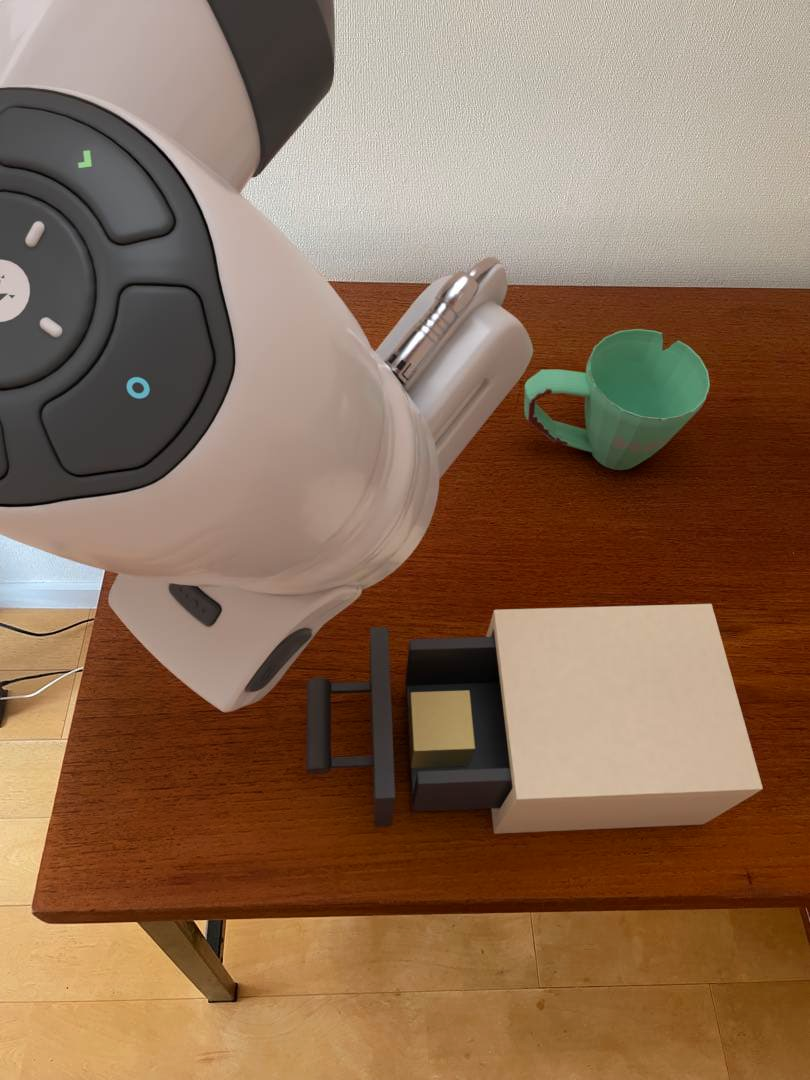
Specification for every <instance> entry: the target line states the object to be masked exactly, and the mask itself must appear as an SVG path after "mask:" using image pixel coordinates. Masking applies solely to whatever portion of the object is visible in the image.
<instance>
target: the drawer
mask: <svg viewBox="0 0 810 1080" xmlns="http://www.w3.org/2000/svg"><path fill="white" fill-rule="evenodd" d="M406 661H407V662H406V669H405V670H406V671H405V679H404V683H405V685H404V686H405V701H406V702H405V703H406V718H407V720H406V721H407V740H408V757H409V775H410V777H409V779H410V795H411V811H412V812H435V811H436V812H439V811H460V810H461V811H462V810H485V809H488V810H489V809H491V808H501V806H502V804H503V803H504V801H505V800H506V798H507V796H508V795H509V793H510V791H511V790H512V788H513V787H512V779H511V770H510V762H509V753H508V745H507V736H506V728H505V719H504V711H503V702H502V694H501V686H500V677H499V669H498V660H497V652H496V643H495V637H486V636H475V637H474V636H473V637H472V636H471V637H469V636H468V637H442V638H441V637H439V638H435V637H434V638H411V639H409V643H408V652H407V660H406ZM391 685H392V684H391V661H390V639H389V627H388V626H377V627H374V626H373V627H369V681H357V682H356V681H355V682H353V681H351V682H331V680H330V679H328V678H325V677H313V678H310V679H308V680H307V682H306V722H305V723H306V725H305V726H306V727H305V729H306V730H305V732H306V733H305V772H306V774H309V775H318V776H319V775H326V774H329V773H331V771H332V770H335V769H336V770H337V769H358V768H359V769H360V768H364V769H365V768H372V799H373V800H372V802H373V805H372V806H373V827H374V828H381V827H382V828H383V827H385V828H386V827H392V826H393V819H394V812H395V805H396V804H395V803H396V779H395V778H396V777H395V752H394V734H393V733H394V732H393V729H394V728H393V708H392V707H393V706H392V687H391ZM465 690H469V691H470V699H471V710H472V720H473V730H474V741H475V750H474V753H473V755H472V758H471V760H470V763H469V765H468V766H448V767H423V768H411V761H410V742H409V724H408V708H409V700H410V693H411V692H435V691H465ZM342 694H344V695H346V694H369V695H370V696H369V698H370V731H371V732H370V733H371V734H370V735H371V736H370V737H371V755H353V756H332V695H342Z"/></svg>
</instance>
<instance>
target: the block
mask: <svg viewBox="0 0 810 1080" xmlns="http://www.w3.org/2000/svg"><path fill="white" fill-rule="evenodd" d="M408 724H409V741H408V743H409V742H410V760H409V762H410V761H411V768H423V767H448V766H468V765H469V763H470V760H471V758H472V755H473V753H474V750H475V741H474V730H473V720H472V710H471V699H470V691H469V690H465V691H435V692H411V693H410V700H409V708H408V722H407V725H408Z"/></svg>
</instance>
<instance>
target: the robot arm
mask: <svg viewBox="0 0 810 1080" xmlns="http://www.w3.org/2000/svg"><path fill="white" fill-rule="evenodd" d="M334 1H335V0H0V535H1V536H4V537H5V538H7V539H11V540H13V541H15V542H18V543H21V544H23V545H26V546H28V547H32V548H34V549H37V550H40V551H43V552H44V553H45V552H46V553H48V554H51V555H53V556H56V557H59V558H62V559H65V560H68V561H72V562H73V563H74V562H75V563H77V564H81V565H84V566H88V567H92V568H96V569H100V570H103V571H107V572H111V573H115V574H117V576H116V577H115V580H114V581H113V583H112V586H111V588H110V591H109V593H108V598H107V602H108V606H109V607H110V609H112V611H113V612H114V614H115V615H116V616H117V617H118V618H119V620H120V621H121V622H122V624H124V626H125V627H126V628H127V629H128V630H129V631H130V633H131V634H132V635H133V636H134V637H135V638H136V639H137V641H139V642H140V643H141V645H142V646H143V647H144V648H145V649H146V650H147V651H148V652H149V653H150V654H151V655H152V656H153V657H154V658H155V659H156V660H157V661H158V662H159V663H161V665H162V666H164V668H166V669H167V670H168V671H169V672H170V673H171V674H172V675H174V676H175V677H176V678H177V679H178V680H179V681H181V682H182V683H183V684H184V685H185V686H187V687H188V688H189V689H190V690H192V691H193V692H194V693H195V694H197V695H198V696H199V697H201V698H202V699H204V700H205V701H206V702H208V703H209V704H211V705H212V706H214V707H215V708H216V709H218V710H219V711H221V712H222V713H231V712H234V711H237V710H240V709H241V708H243V707H247V706H250V705H252V704H255V703H257V702H259V701H261V700H262V699H263V698H264V697H265V696H267V694H269V692H271V691H272V690H273V689H274V688H275V687H276V685H277V684H278V683H279V682H280V680H281V679H282V678H283V677H284V675H285V674H286V673H287V671H288V670H289V669H290V668H291V666H292V665H293V664H294V663H295V661H296V660H297V659H298V658H299V656H300V655H301V653H303V652H304V650H305V649H306V647H307V646H308V645H309V644H310V642H311V641H312V640H313V639H314V637H315V636H316V635H317V633H318V632H319V631H320V630H321V628H323V626H324V625H325V624H326V623H327V622H329V621H331V620H332V619H333V618H334V617H335V616H337V615H338V614H339V613H341V612H343V611H344V610H345V609H346V608H348V607H349V606H351V605H352V604H353V603H354V602H355V601H356V600H358V598H360V596H361V595H362V593H363V590H365V589H368V588H370V587H372V586H374V585H376V584H377V583H379V582H382V580H384V579H386V578H387V577H388V576H390V575H392V574H393V573H394V572H395V571H396V570H397V569H398V568H399V567H401V566H402V565H403V564H404V563H405V561H407V560H408V558H409V557H411V555H412V554H413V552H414V551H415V550H416V549H417V547H418V546H419V545H420V543H421V541H422V539H423V537H425V534H426V532H427V530H428V528H429V526H430V524H431V522H432V518H433V515H434V513H435V510H436V507H437V502H438V497H439V489H440V480H441V478H442V477H443V476H444V474H446V472H447V471H448V469H449V468H450V467H451V466H452V464H453V463H454V462H455V461H456V460H457V458H458V457H459V455H460V454H461V453H462V452H463V450H464V449H466V447H467V446H468V444H469V443H470V442H471V440H472V439H473V438H474V437H475V435H476V434H477V433H478V432H479V430H480V429H481V428H482V427H483V425H484V424H485V423H486V422H487V420H488V419H489V418H490V417H491V416H492V414H494V412H495V410H496V409H497V408H498V407H499V406H500V404H501V403H502V402H503V400H504V399H505V398H506V397H507V396H508V394H509V393H510V392H511V391H512V390H513V388H514V387H515V386H516V385H517V383H519V381H520V380H521V378H522V376H523V375H524V373H525V371H526V370H527V368H528V366H529V364H530V363H531V360H532V357H533V354H534V347H533V343H532V340H531V337H530V334H529V333H528V331H527V329H526V327H525V326H524V324H522V322H521V320H519V319H518V318H517V317H515V316H514V315H513V314H512V313H511V312H510V311H508V310H506V309H505V308H504V307H502V305H503V303H504V301H505V298H506V295H507V291H508V285H509V284H508V278H507V272H506V268H505V267H504V265H503V264H502V262H501V260H500V259H498V258H497V257H495V256H490V255H487V254H484V255H483V256H481V257H480V258H479V259H478V260H477V262H476V263H475V264H474V265H473V266H472V267H470V269H469V270H468V271H467V272H465V271H463V270H457V272H456V273H454V274H453V275H452V274H451V275H450V274H447V275H444V276H441V277H439V278H437V279H435V280H434V281H432V283H430V285H428V286H427V287H426V288H425V289H424V290H423V291H422V292H421V293H420V294H419V296H417V298H416V299H415V300H414V301H413V302H412V303H411V305H410V307H409V308H408V309H407V310H406V312H405V313H404V314H403V315H402V316H401V318H400V319H399V321H398V322H397V323H396V324H395V326H394V327H393V328H392V329H391V330H390V332H389V333H388V334H387V335H386V337H385V338H384V339H383V340H382V342H381V343H380V344H379V346H378V347H377V348H376V349H375V350H374V349H373V348H372V346H371V344H370V341H369V339H368V338H367V336H366V334H365V332H364V330H363V328H362V326H361V325H360V323H359V322H358V320H357V319H356V317H355V316H354V314H353V312H352V311H351V310H350V309H349V307H348V306H347V305H346V303H345V301H344V300H343V299H342V298H341V297H340V296H339V294H338V293H337V292H336V290H335V289H334V288H333V287H332V285H331V284H330V283H329V281H328V280H327V279H326V277H324V275H323V274H322V273H321V272H320V271H319V270H318V268H317V267H316V266H315V265H314V264H313V262H312V261H311V260H310V259H309V258H308V257H307V256H306V255H305V254H304V253H303V251H302V250H301V249H300V248H299V247H298V246H297V245H296V244H295V243H294V242H293V241H292V240H291V239H290V238H289V237H288V236H287V235H286V234H285V233H284V232H283V230H281V229H280V228H279V227H278V226H277V225H276V224H275V223H273V222H272V220H271V219H269V218H268V216H267V215H265V214H264V213H263V212H262V211H261V210H260V209H258V208H257V207H256V206H255V205H254V204H253V203H252V202H251V201H249V200H248V198H246V197H245V196H244V195H243V194H241V193H243V190H244V189H245V187H246V186H247V185H248V183H249V181H250V180H251V179H252V178H257V177H258V176H259V175H260V174H262V172H263V171H264V170H265V169H266V168H267V166H268V165H270V163H271V162H272V161H273V159H274V158H275V157H276V156H277V154H278V153H279V152H280V151H281V150H282V148H283V147H284V146H285V145H286V144H287V143H288V142H289V140H290V139H291V138H292V136H294V135H295V133H296V132H297V130H298V129H300V127H301V126H302V124H303V123H304V122H305V121H306V120H307V119H308V117H309V116H310V115H311V114H312V112H314V110H315V109H316V108H317V106H319V104H320V103H321V102H322V100H323V99H324V98H325V97H326V96H327V95H328V93H329V92H330V90H331V89H332V86H333V83H334V80H335V79H334V78H335V63H336V62H335V61H336V59H335V58H336V18H335V16H336V15H335V2H334Z"/></svg>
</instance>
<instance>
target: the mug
mask: <svg viewBox="0 0 810 1080" xmlns="http://www.w3.org/2000/svg"><path fill="white" fill-rule="evenodd" d="M664 340H665V339H664V334H663V332H660V331H657V330H653V329H652V330H651V329H642V328H633V329H624V330H618V331H616V332H614V333H611V334H608V335H606V336H604V337H603V338H602V339H601V340H600V341H598V343H597V344H596V345H594V346H593V348H592V351H591V353H590V355H589V358H588V359H587V363H586V367H585V372H582V371H576V370H575V371H574V370H568V369H559V368H558V369H552V368H551V369H540V370H539V371H538V372H536V373H535V374H534V375H532V376H531V377H530V378H528V379H527V380H526V382H525V384H524V404H523V405H524V407H523V410H524V411H523V412H524V418H525V419H526V420H527V421H528V422H529V423H530V424H531V425H532V426H534V427H535V428H536V429H537V430H539V431H540V432H541V433H542V434H543V435H545V436H546V437H547V438H548V439H549V440H550V441H551V442H552V443H555V444H559V445H563V446H566V447H570V448H573V449H577V450H581V451H585V452H588V453H591V455H592V457H593V458H594V459H595V460H596V462H598V463H599V464H600V465H601V466H603V467H605V468H608V469H611V470H616V471H626V470H630V469H632V468H634V467H637V466H639V464H641V463H643V462H645V461H646V460H648V459H649V458H651V457H652V456H653V455H655V454H656V453H657V452H658V451H659V450H661V449H662V448H664V446H666V445H667V444H668V443H669V442H670V441H671V440H672V438H674V437H675V436H676V435H677V433H678V432H679V431H680V430H681V429H682V428H683V427H684V426H685V425H686V424H688V422H689V421H690V420H691V419H692V418H693V417H694V416H695V415H696V414H697V413H698V412H699V411H700V410H701V408H702V407H703V406H704V404H705V402H706V400H707V397H708V395H709V391H710V387H711V382H710V372H709V371H708V368H707V366H706V365H705V363H704V361H703V359H702V357H700V356H699V355H698V354H697V352H695V351H694V350H693V349H692V347H690V345H688V344H686V343H684V342H682V341H681V340H678V339H677V340H675V341H674V342H673V343H672V344H671V345H670V346H669V347H667V348H665V349H664V342H665V341H664ZM560 394H561V395H562V394H563V395H569V396H575V397H576V396H577V397H582V398H584V422H585V423H584V424H585V428H583V427H582V428H581V427H578V426H575V425H572V424H571V425H570V424H567V423H564V422H561V421H557V420H555V419H552V418H551V417H550V416H549V415H548V414H547V413H546V412H545V411H544V410H543V409H542V408H541V407H540V406H539V405H538V404H537V400H539V399H540V398H542V397H543V396H545V395H560Z"/></svg>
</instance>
